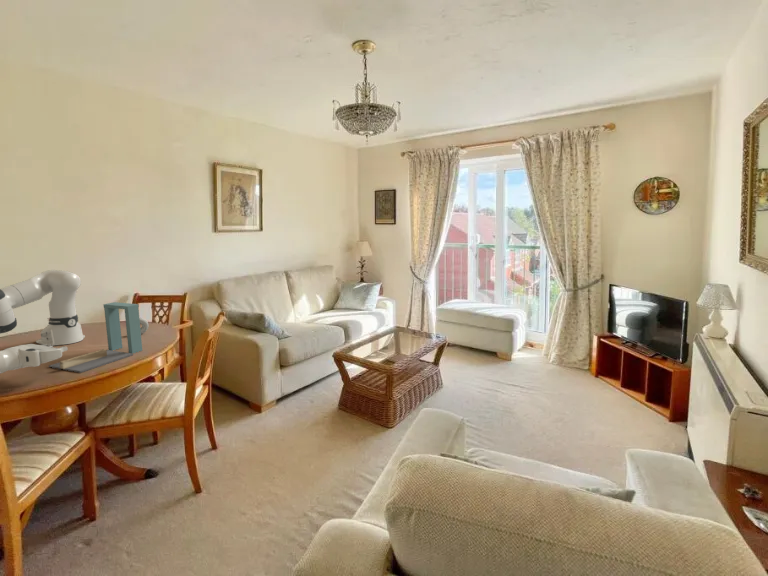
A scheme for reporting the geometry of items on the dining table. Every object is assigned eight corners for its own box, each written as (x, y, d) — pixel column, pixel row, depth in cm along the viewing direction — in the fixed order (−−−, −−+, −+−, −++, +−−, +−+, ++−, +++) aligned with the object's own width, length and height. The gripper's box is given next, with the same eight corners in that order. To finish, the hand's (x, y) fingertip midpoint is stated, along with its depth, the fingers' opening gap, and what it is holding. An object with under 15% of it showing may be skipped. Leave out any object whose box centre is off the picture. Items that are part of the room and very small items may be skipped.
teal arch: (108, 350, 200) (103, 304, 196) (119, 347, 205) (114, 302, 202) (132, 354, 195) (127, 306, 191) (142, 350, 200) (138, 304, 197)
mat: (48, 367, 176) (48, 365, 176) (103, 350, 199) (103, 349, 199) (80, 372, 170) (80, 371, 170) (133, 355, 193) (133, 353, 193)
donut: (129, 336, 225) (128, 319, 224) (129, 335, 228) (127, 318, 226) (149, 333, 231) (148, 317, 230) (148, 332, 234) (147, 315, 233)
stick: (60, 368, 173) (59, 361, 172) (103, 355, 191) (102, 349, 190) (63, 368, 172) (63, 362, 172) (107, 355, 190) (106, 349, 189)
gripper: (5, 360, 161) (43, 351, 174) (38, 367, 154) (75, 356, 167) (3, 345, 160) (41, 337, 173) (36, 351, 153) (74, 342, 166)
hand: (58, 346), depth 170 cm, fingers open, 8 cm apart
